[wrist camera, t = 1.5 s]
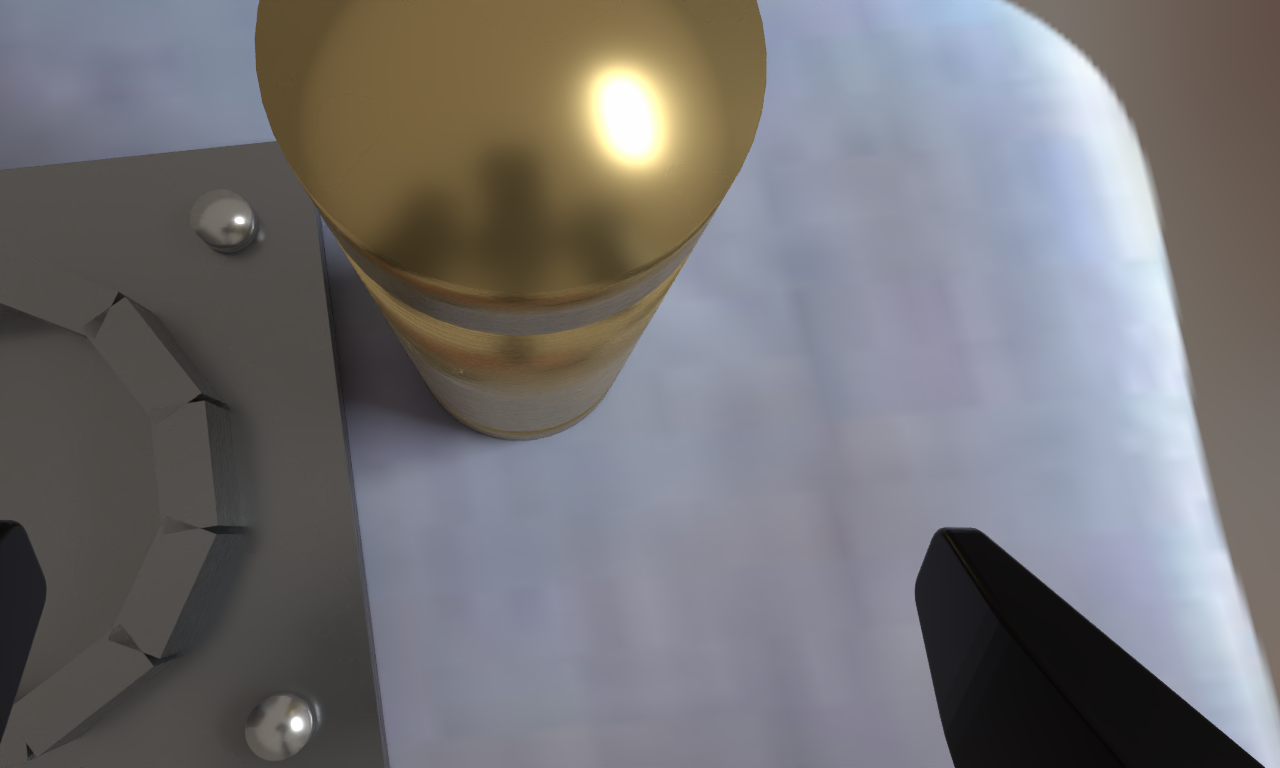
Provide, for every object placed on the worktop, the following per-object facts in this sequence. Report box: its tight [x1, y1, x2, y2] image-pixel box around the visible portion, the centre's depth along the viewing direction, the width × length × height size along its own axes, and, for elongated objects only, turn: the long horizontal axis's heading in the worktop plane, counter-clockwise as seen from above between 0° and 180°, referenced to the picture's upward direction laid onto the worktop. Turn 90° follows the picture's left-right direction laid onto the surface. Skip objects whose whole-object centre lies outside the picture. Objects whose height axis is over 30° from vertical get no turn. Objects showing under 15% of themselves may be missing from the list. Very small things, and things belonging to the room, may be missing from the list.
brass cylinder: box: [255, 0, 766, 441], centre depth 15 cm, size 5×5×13 cm
